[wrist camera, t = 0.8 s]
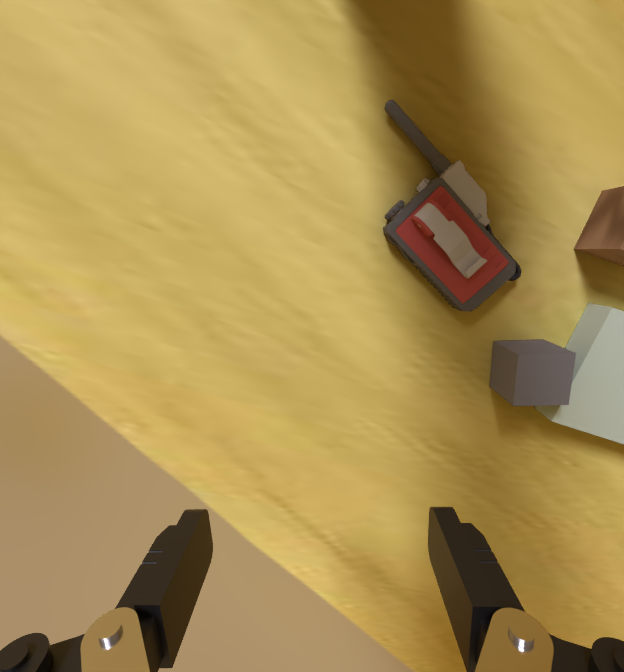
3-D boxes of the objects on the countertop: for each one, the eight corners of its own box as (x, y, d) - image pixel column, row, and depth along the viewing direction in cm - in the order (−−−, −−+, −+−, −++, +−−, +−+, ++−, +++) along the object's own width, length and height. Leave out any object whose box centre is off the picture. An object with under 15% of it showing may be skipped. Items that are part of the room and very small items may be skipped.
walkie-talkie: (531, 258, 35) (393, 98, 32) (560, 259, 30) (403, 75, 28) (461, 320, 36) (324, 174, 34) (479, 329, 32) (324, 162, 29)
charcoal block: (492, 340, 36) (518, 354, 32) (542, 339, 36) (576, 353, 31) (488, 385, 38) (513, 406, 33) (537, 384, 37) (568, 405, 33)
